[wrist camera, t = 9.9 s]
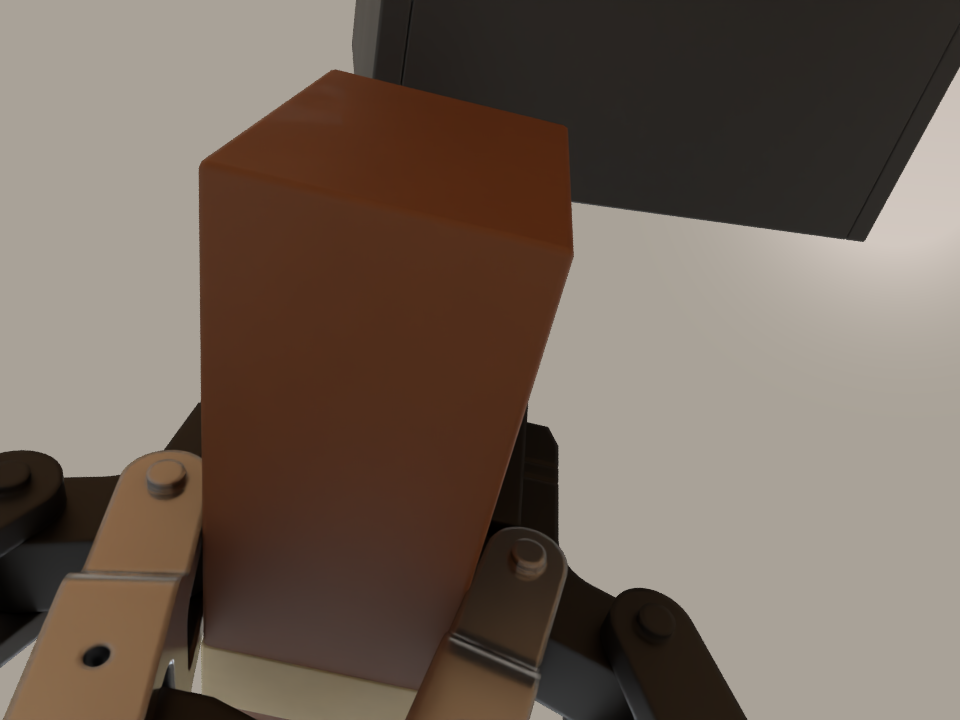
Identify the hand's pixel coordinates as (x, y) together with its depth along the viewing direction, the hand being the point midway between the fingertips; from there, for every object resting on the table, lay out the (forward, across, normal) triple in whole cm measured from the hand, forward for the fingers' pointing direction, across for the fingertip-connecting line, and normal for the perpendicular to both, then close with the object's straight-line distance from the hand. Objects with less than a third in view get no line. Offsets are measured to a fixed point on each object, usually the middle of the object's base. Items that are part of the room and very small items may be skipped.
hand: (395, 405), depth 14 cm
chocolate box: (-3, 0, -6) cm, 7 cm away
